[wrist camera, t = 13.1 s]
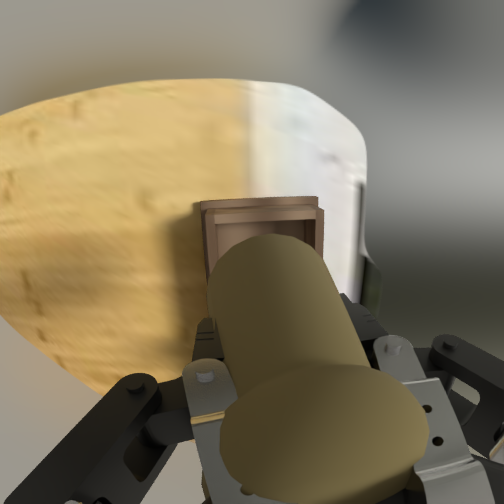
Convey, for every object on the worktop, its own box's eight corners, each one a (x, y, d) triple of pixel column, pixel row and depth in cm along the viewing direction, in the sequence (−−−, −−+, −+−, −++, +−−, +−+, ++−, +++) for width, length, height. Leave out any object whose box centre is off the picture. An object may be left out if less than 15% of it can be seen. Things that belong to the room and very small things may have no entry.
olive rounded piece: (209, 348, 14) (198, 561, 4) (203, 233, 13) (129, 475, 2) (323, 343, 15) (407, 526, 4) (337, 233, 13) (527, 391, 3)
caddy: (220, 385, 37) (220, 411, 32) (201, 200, 30) (196, 207, 25) (306, 377, 38) (315, 401, 33) (315, 196, 30) (331, 202, 26)
